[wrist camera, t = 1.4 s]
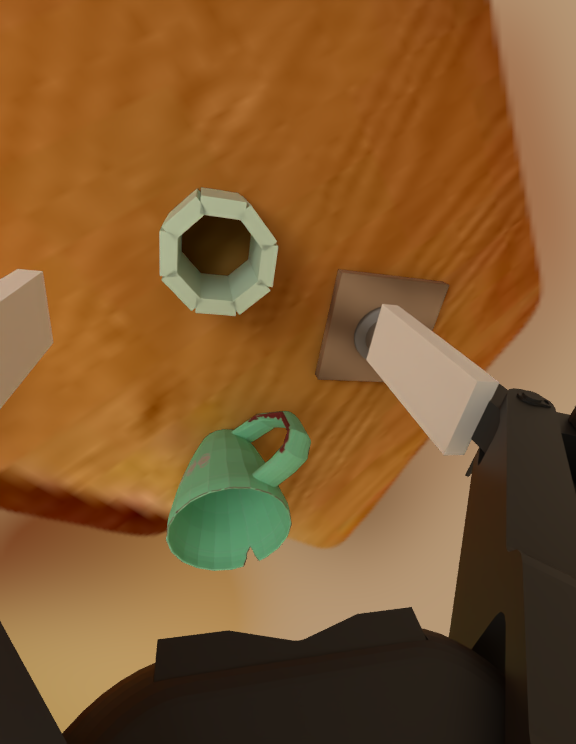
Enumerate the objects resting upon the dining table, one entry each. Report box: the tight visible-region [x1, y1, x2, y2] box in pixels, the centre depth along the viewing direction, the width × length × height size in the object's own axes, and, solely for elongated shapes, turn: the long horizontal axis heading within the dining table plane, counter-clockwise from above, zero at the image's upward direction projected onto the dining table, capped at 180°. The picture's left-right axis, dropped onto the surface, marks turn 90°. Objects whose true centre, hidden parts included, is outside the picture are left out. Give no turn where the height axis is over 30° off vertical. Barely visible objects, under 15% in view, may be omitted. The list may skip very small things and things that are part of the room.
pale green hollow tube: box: [160, 187, 278, 316], centre depth 26 cm, size 7×7×6 cm
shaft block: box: [315, 269, 449, 382], centre depth 31 cm, size 10×10×9 cm
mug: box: [166, 411, 311, 571], centre depth 33 cm, size 15×10×10 cm
